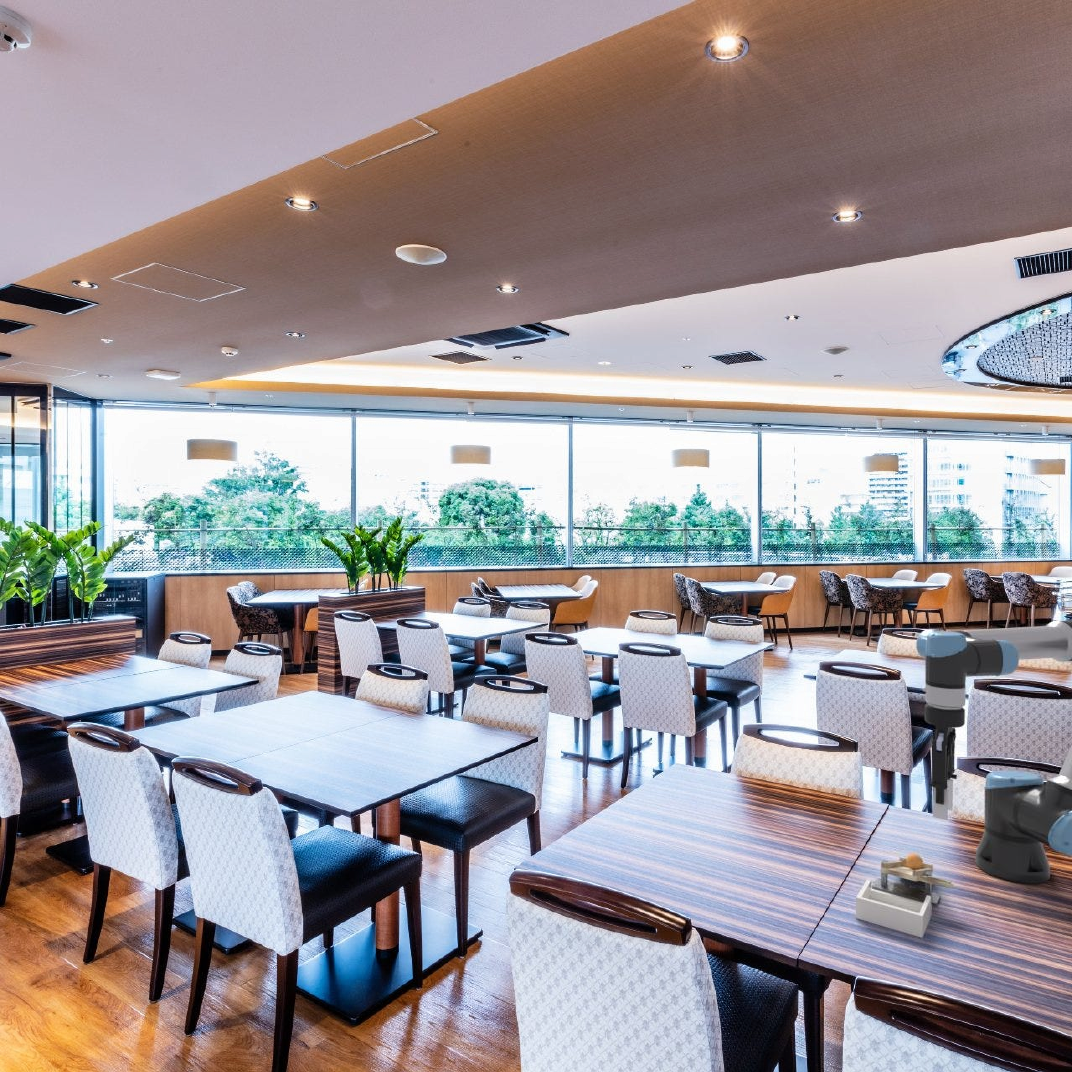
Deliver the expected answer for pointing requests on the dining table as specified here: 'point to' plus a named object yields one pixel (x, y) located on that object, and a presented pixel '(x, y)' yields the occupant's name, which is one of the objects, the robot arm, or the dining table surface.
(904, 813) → the dining table surface
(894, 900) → the dish
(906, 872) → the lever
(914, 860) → the ball
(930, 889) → the stand
